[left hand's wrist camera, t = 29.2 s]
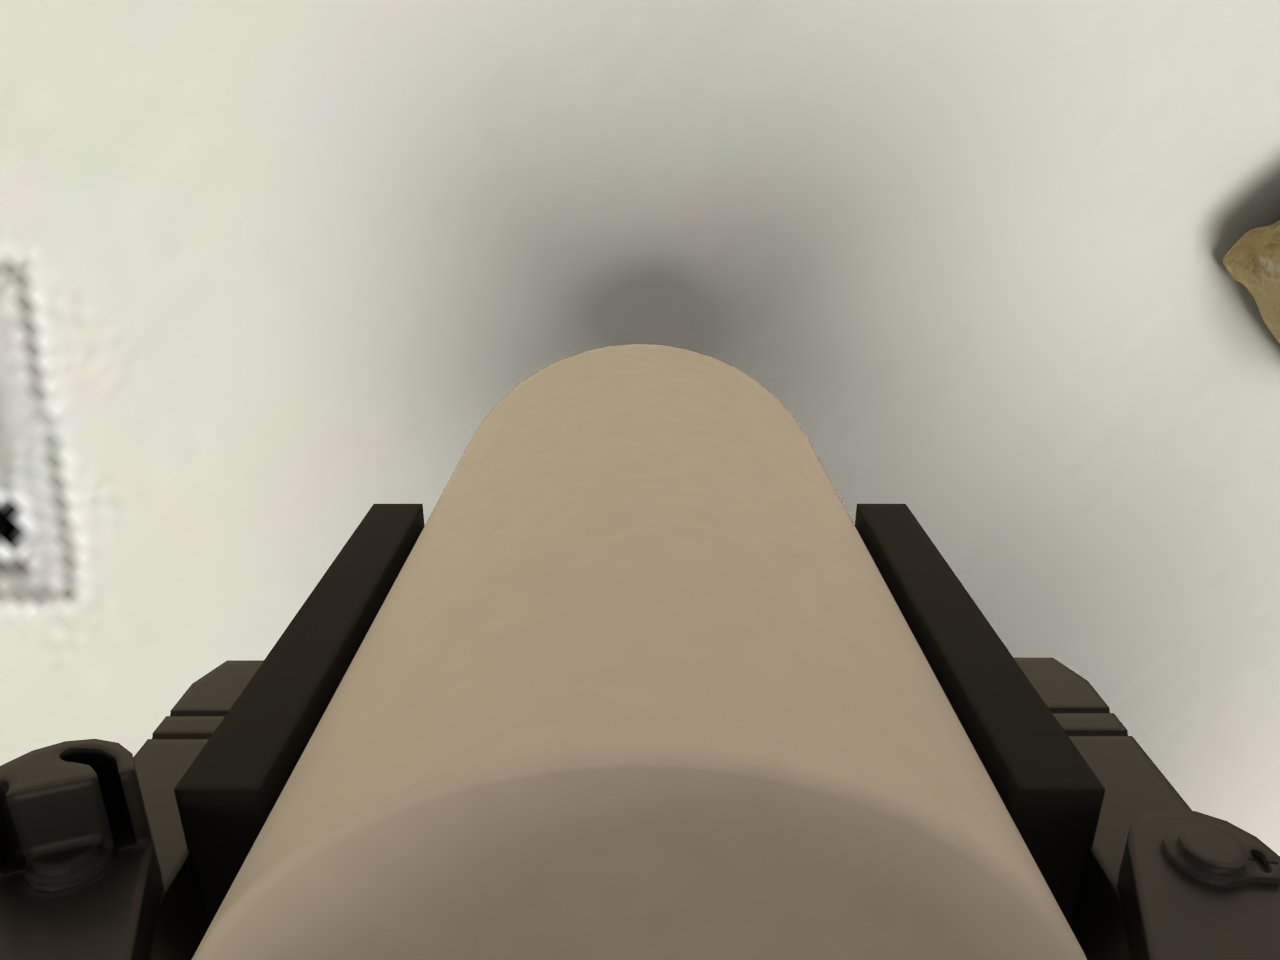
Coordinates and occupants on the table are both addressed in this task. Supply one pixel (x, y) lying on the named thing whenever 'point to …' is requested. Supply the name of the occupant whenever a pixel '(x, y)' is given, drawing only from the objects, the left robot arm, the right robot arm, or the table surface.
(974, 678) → the left robot arm
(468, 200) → the table surface
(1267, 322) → the sculpture
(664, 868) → the can
